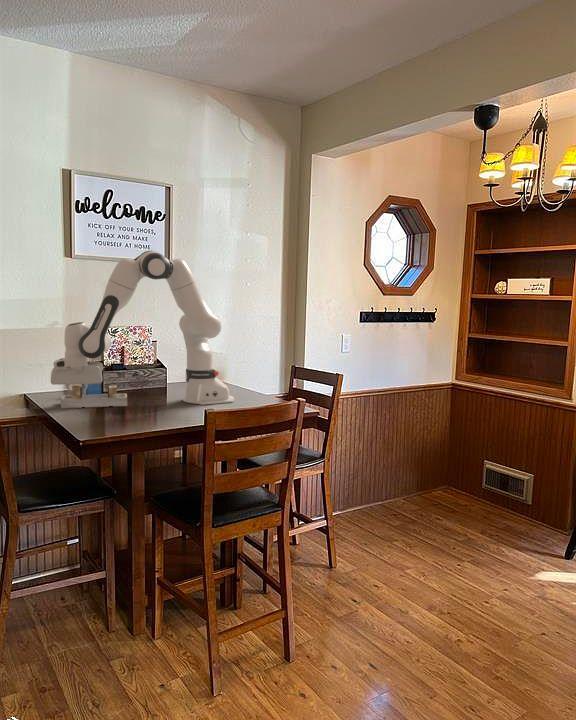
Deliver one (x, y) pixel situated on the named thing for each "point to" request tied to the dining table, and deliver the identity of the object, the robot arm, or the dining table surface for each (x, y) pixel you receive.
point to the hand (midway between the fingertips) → (77, 394)
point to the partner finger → (112, 391)
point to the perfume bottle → (92, 389)
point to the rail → (93, 401)
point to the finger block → (76, 392)
